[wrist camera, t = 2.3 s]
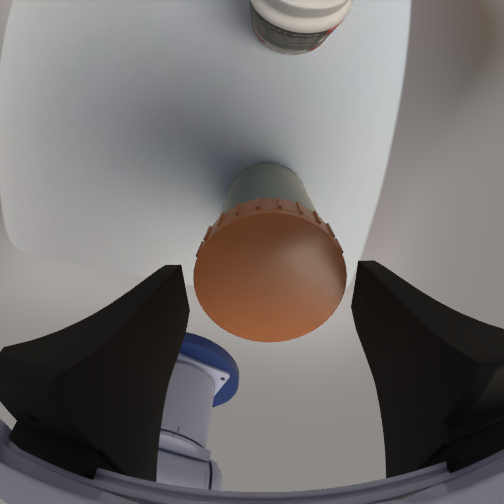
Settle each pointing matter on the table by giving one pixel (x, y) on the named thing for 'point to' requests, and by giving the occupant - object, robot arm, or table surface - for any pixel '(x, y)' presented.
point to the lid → (269, 270)
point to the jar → (266, 186)
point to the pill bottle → (296, 22)
